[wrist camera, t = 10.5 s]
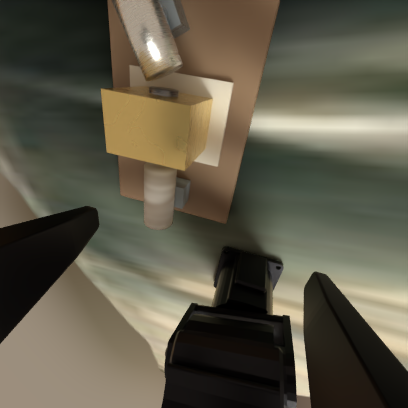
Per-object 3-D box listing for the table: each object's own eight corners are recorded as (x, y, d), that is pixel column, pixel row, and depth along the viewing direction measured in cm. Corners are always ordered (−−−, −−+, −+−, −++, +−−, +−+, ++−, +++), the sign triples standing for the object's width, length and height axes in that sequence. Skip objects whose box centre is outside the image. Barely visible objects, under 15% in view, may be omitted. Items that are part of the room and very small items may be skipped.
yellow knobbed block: (205, 152, 17) (184, 175, 13) (145, 138, 18) (107, 156, 14) (213, 93, 15) (191, 99, 11) (144, 81, 16) (100, 82, 12)
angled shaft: (201, 63, 15) (180, 58, 12) (162, 83, 16) (133, 84, 13) (170, -29, 13) (134, -68, 10) (129, 1, 14) (84, -23, 11)
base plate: (228, 215, 22) (216, 252, 17) (128, 189, 24) (93, 216, 19) (284, -17, 13) (291, -70, 8) (118, -34, 15) (47, -86, 10)
